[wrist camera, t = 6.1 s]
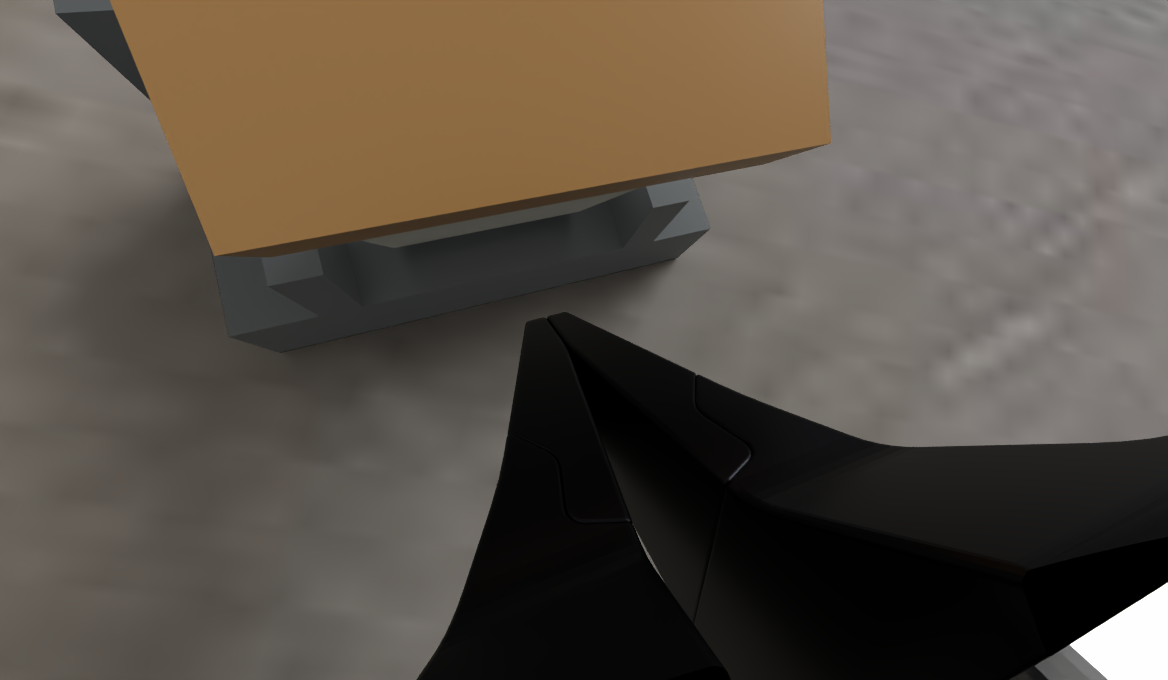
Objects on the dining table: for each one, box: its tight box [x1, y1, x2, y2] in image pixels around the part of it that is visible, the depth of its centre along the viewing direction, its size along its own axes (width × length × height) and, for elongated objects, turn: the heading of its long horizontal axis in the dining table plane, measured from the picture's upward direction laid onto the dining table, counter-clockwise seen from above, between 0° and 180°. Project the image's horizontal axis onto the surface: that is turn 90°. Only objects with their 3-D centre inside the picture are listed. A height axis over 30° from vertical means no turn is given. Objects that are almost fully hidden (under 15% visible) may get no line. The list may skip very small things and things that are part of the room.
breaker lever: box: [110, 0, 831, 257], centre depth 9 cm, size 3×7×10 cm, turn 107°
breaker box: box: [53, 0, 710, 352], centre depth 14 cm, size 8×16×7 cm, turn 107°
